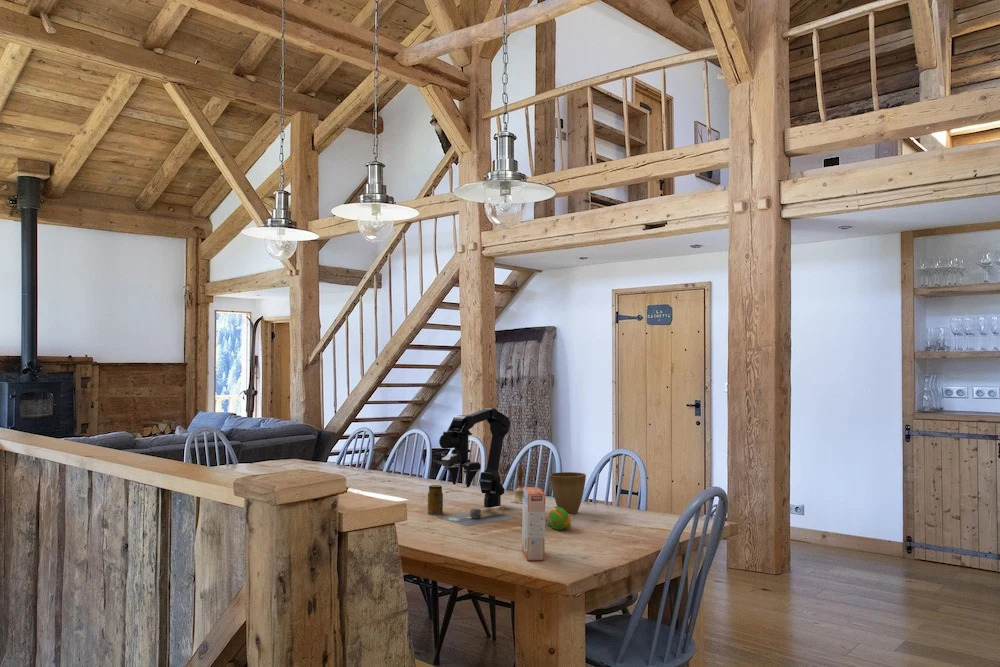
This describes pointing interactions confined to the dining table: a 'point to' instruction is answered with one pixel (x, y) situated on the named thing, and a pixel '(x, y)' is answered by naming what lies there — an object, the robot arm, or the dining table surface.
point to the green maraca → (559, 519)
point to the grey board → (476, 521)
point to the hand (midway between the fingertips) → (461, 485)
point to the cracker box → (533, 524)
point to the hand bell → (519, 487)
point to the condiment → (435, 500)
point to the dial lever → (484, 512)
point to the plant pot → (568, 490)
